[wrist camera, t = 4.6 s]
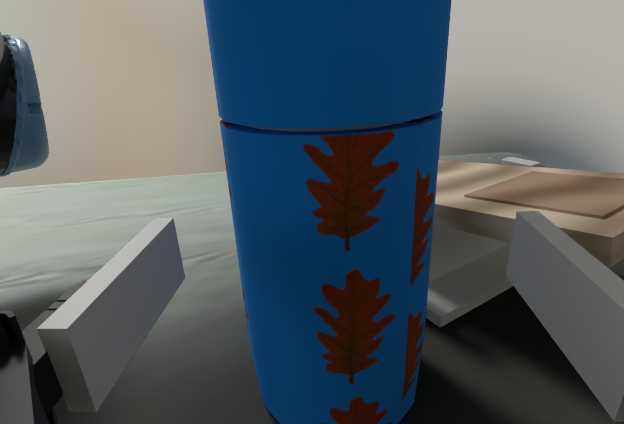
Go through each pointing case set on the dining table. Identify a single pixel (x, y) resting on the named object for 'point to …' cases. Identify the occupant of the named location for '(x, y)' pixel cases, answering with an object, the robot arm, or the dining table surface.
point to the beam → (533, 203)
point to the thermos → (332, 194)
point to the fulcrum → (466, 268)
